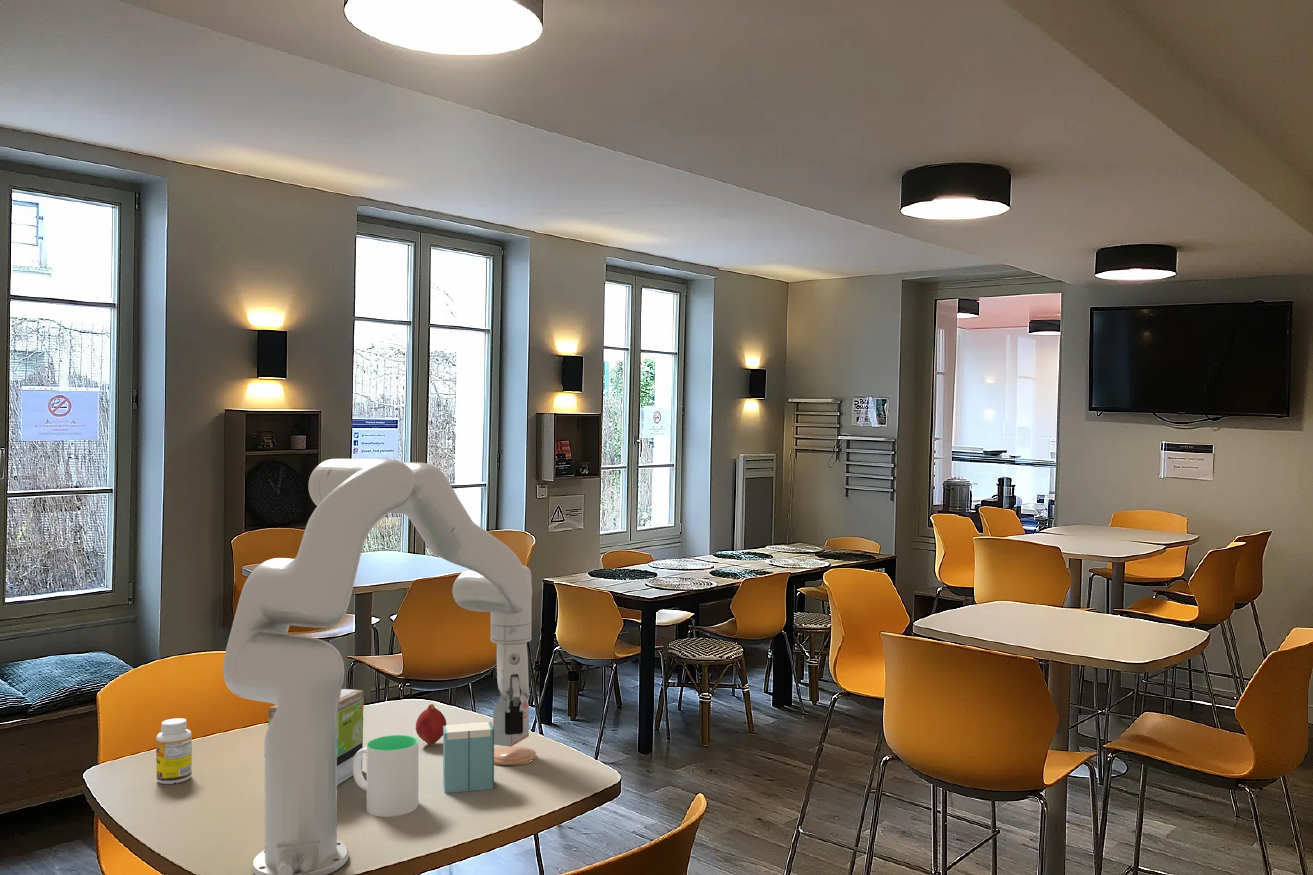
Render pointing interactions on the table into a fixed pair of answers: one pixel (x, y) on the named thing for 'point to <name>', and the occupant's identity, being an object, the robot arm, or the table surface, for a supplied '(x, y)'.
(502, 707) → the white gable carton
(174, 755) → the supplement bottle
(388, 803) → the mug
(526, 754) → the saucer
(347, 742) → the tea box
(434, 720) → the onion
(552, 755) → the table surface
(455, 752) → the teal and cream box
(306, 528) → the robot arm
